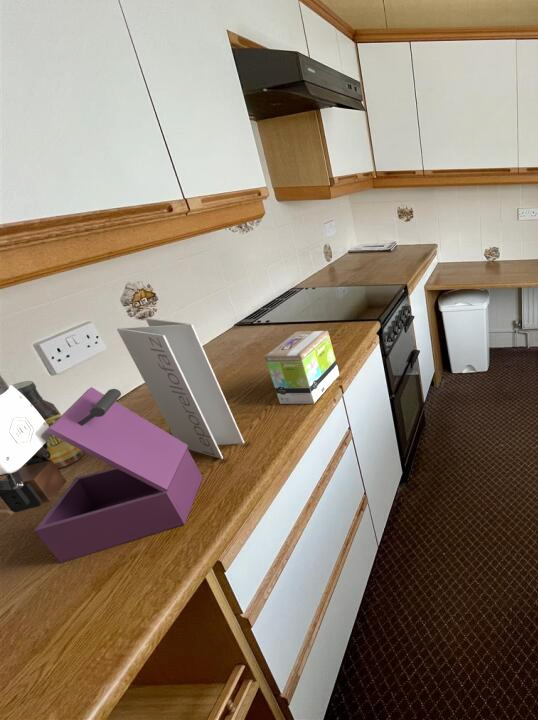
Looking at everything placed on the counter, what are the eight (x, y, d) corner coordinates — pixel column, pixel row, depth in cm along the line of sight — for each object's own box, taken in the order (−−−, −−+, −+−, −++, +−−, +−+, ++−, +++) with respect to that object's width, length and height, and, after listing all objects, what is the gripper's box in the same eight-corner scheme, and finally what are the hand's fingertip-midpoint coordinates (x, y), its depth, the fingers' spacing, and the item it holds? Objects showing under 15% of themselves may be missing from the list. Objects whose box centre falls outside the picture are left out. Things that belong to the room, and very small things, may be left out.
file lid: (45, 431, 60) (74, 410, 60) (87, 389, 71) (112, 371, 71) (163, 492, 70) (188, 473, 70) (184, 447, 80) (206, 431, 81)
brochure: (179, 446, 94) (116, 328, 81) (202, 431, 98) (146, 318, 85) (222, 458, 89) (162, 335, 76) (244, 442, 94) (192, 324, 81)
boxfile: (60, 563, 68) (33, 530, 64) (96, 507, 78) (75, 477, 75) (184, 524, 73) (166, 492, 70) (202, 477, 84) (187, 448, 81)
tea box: (316, 404, 106) (300, 354, 100) (279, 405, 107) (261, 355, 100) (341, 374, 120) (328, 329, 113) (308, 375, 120) (293, 330, 114)
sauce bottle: (56, 474, 88) (0, 397, 79) (40, 468, 90) (-16, 392, 81) (92, 454, 93) (44, 380, 85) (77, 448, 95) (28, 376, 87)
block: (50, 501, 60) (34, 479, 58) (11, 511, 59) (-7, 489, 57) (67, 481, 64) (52, 459, 62) (30, 490, 63) (14, 468, 61)
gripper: (-50, 422, 48) (37, 530, 55) (39, 359, 62) (98, 452, 70) (-141, 440, 45) (-37, 550, 53) (-27, 371, 60) (41, 466, 67)
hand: (39, 494), depth 61 cm, fingers closed on block, 4 cm apart
